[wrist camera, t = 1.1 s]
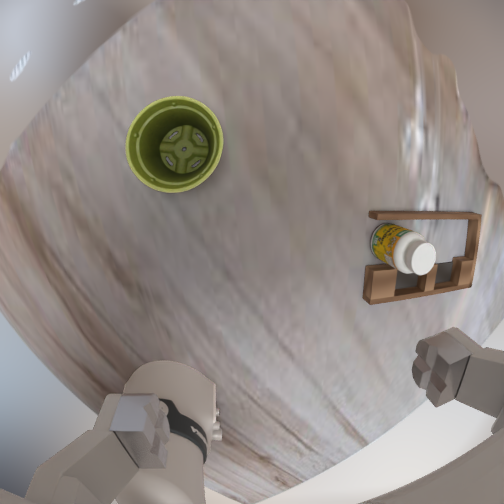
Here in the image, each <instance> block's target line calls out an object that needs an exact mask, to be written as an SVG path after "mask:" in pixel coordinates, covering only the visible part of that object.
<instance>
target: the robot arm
mask: <svg viewBox="0 0 504 504" xmlns="http://www.w3.org/2000/svg"><path fill="white" fill-rule="evenodd" d="M416 353H417V354H418V356H417V358H416V359H415V360H414V362H413V367H412V373H413V378H414V381H415V383H416V384H417V385H418V387H419V388H422V389H425V390H426V396H427V398H428V399H429V400H430V401H431V402H432V404H433V405H434V406H435V407H438V406H441V405H443V404H445V403H447V402H449V401H451V400H453V399H455V398H456V399H455V400H457V401H459V402H461V403H464V404H466V405H468V406H470V407H473V408H475V409H477V410H480V411H482V412H484V413H486V414H488V415H491V416H493V417H496V418H497V419H496V421H495V423H494V424H493V426H492V429H491V432H492V433H493V435H492V436H491V437H489V438H488V439H486V440H485V441H484V442H482V443H480V444H479V445H478V446H476V447H475V448H473V449H471V450H470V451H468V452H467V453H465V454H463V455H462V456H460V457H458V458H457V459H455V460H454V461H452V462H450V463H448V464H446V465H445V466H443V467H441V468H440V469H437V470H436V471H434V472H432V473H430V474H428V475H426V476H424V477H422V478H420V479H418V480H416V481H414V482H411V483H409V484H407V485H405V486H403V487H400V488H398V489H396V490H393V491H391V492H388V493H386V494H383V495H381V496H378V497H376V498H373V499H370V500H367V501H364V502H361V503H359V504H504V351H501V350H496V349H492V348H488V347H486V348H484V349H483V348H482V347H481V346H480V345H478V344H477V343H476V342H475V341H473V340H472V339H471V338H470V337H468V336H467V335H466V334H464V333H463V332H462V331H461V330H459V329H458V328H455V327H452V328H450V329H447V330H445V331H443V332H441V333H438V334H436V335H433V336H430V337H428V338H425V339H422V340H420V341H419V342H418V344H417V346H416ZM219 415H220V410H219V408H216V384H215V383H213V382H212V381H211V380H209V379H208V378H207V377H205V376H204V375H203V374H202V373H200V372H199V371H197V370H195V369H194V368H192V367H190V366H188V365H185V364H182V363H179V362H175V361H167V360H161V361H153V362H149V363H146V364H144V365H142V366H140V367H139V368H138V369H137V370H136V371H135V372H134V373H133V374H132V375H131V377H130V379H129V380H128V381H127V382H126V384H125V387H124V391H123V394H108V395H107V396H106V398H105V400H104V403H103V405H102V407H101V410H100V412H99V415H98V417H97V420H96V423H95V425H94V428H93V430H88V431H87V432H85V433H84V434H82V435H81V436H80V437H78V438H77V439H76V440H75V441H73V442H72V443H70V444H69V445H68V446H66V447H65V448H64V449H62V450H61V451H60V452H58V453H57V454H55V455H54V456H53V457H51V458H50V459H49V460H47V461H46V462H44V463H43V464H41V465H40V466H39V467H37V469H36V471H35V474H34V476H33V478H32V481H31V483H30V486H29V489H28V491H27V493H26V496H25V498H21V497H19V496H16V495H14V494H12V493H9V492H7V491H5V490H3V489H0V504H111V503H112V501H113V500H114V499H116V501H117V502H118V504H206V502H205V491H204V469H203V465H204V463H205V461H206V458H207V455H208V454H209V453H210V448H211V440H214V441H221V440H222V428H220V422H219V421H216V416H219Z"/></svg>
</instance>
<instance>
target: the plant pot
mask: <svg viewBox="0 0 504 504" xmlns="http://www.w3.org/2000/svg"><path fill="white" fill-rule="evenodd" d="M176 131H177V132H178V133H177V134H176V135H174V136H173V137H172V138H171V139H169V136H171V135H172V133H174V132H176ZM196 134H199V135H200V136H201V137H202V138H203V142H201V141H200V139H199V138H198V136H197V135H196ZM183 147H186V150H185V151H182V148H183ZM222 150H223V132H222V128H221V126H220V123H219V121H218V119H217V117H216V116H215V114H214V113H213V112H212V111H211V110H210V109H209V108H208V107H207V106H206V105H204V104H203V103H201V102H199V101H197V100H195V99H193V98H189V97H184V96H171V97H165V98H162V99H159V100H156V101H154V102H152V103H151V104H149V105H148V106H146V107H145V108H144V109H143V110H142V111H141V112H140V113H139V114H138V115H137V116H136V118H135V119H134V120H133V122H132V124H131V126H130V128H129V131H128V134H127V138H126V157H127V161H128V164H129V166H130V168H131V170H132V171H133V173H134V174H135V176H136V177H137V178H138V179H139V180H140V181H141V182H143V183H144V184H145V185H147V186H148V187H150V188H152V189H155V190H157V191H161V192H167V193H178V192H183V191H187V190H190V189H192V188H194V187H196V186H198V185H200V184H201V183H202V182H204V181H205V180H206V179H207V178H208V177H209V176H210V175H211V174H212V172H213V171H214V170H215V168H216V166H217V164H218V162H219V160H220V158H221V154H222ZM166 157H168V158H169V160H170V161H171V162H172V163H173V166H171V165H169V163H168V162H167V160H166ZM198 160H200V163H199V164H198V165H197V166H195V167H191V166H192V165H193V164H195V163H196V162H197V161H198Z"/></svg>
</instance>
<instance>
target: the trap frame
mask: <svg viewBox="0 0 504 504" xmlns="http://www.w3.org/2000/svg"><path fill="white" fill-rule="evenodd" d="M369 217H370V218H373V219H376V220H409V219H469V221H468V232H467V241H466V249H465V256H462V257H453V261H452V262H448V263H439V264H436V263H434V266H433V267H432V269H431V270H430V271H429V272H428V273H426V274H424V275H417V274H415V273H410V274H406V273H403V272H401V271H399V270H397V269H395V268H394V267H392V266H390V265H389V264H380V265H369V266H366V269H365V280H364V290H363V299H364V300H365V301H366V302H368V303H369V304H370V305H372V304H379V303H386V302H392V301H399V300H405V299H411V298H417V297H423V296H428V295H434V294H439V293H445V292H450V291H455V290H460V289H465V288H470V287H471V286H472V281H473V276H474V270H475V264H476V258H477V251H478V244H479V236H480V227H481V214H477V213H473V212H441V211H369Z"/></svg>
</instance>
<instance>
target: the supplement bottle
mask: <svg viewBox="0 0 504 504" xmlns="http://www.w3.org/2000/svg"><path fill="white" fill-rule="evenodd" d="M371 250H372V252H373V254H374V255H375V256H376V257H377V258H378V259H380V260H382V261H383V262H385V263H387V264H389V265H390V266H392V267H394V268H395V269H397V270H399V271H401V272H403V273H406V274H410V273H415V274H417V275H424V274H426V273H428V272H429V271H430V270H431V269H432V267H433V266H434V263H435V260H436V251H435V248H434V247H433V245H432V244H430V243H428V242H426V240H425V239H424V237H423V236H422V235H421V234H419V233H417V232H414V231H411V230H409V229H406V228H403V227H400V226H397V225H394V224H390V223H386V224H382V225H380V226H379V227H378V228H377V229H376V230H375V231H374V233H373V235H372V239H371Z"/></svg>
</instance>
